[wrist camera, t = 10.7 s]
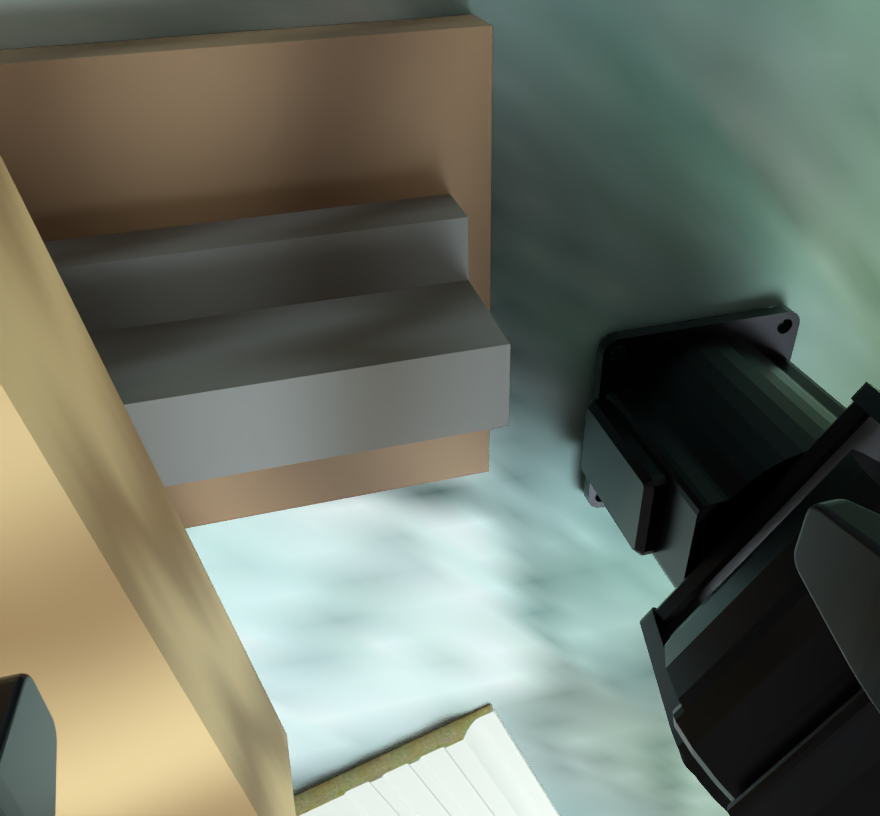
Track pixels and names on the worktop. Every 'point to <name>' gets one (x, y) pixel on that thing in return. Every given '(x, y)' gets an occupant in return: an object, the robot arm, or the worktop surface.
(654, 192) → the worktop surface
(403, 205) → the ridge stand
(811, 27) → the worktop surface
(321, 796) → the baseboard molding
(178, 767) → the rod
